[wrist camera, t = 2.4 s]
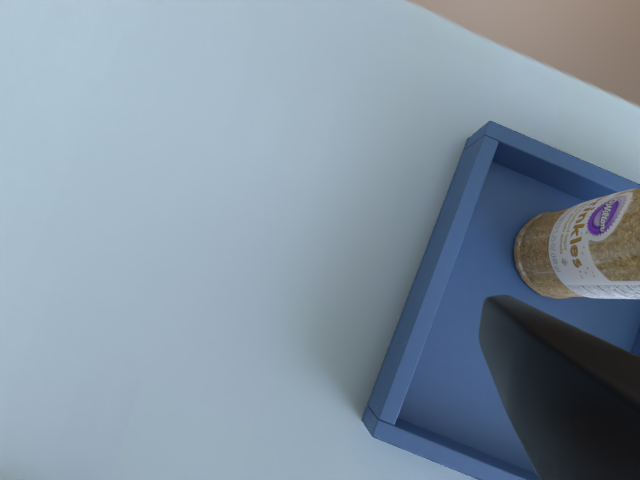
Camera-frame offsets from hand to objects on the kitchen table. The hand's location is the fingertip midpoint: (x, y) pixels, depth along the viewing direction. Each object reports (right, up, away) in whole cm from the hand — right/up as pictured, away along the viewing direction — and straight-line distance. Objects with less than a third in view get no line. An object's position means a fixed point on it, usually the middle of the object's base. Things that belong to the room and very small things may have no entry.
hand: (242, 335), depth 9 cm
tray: (+12, -2, +16) cm, 20 cm away
